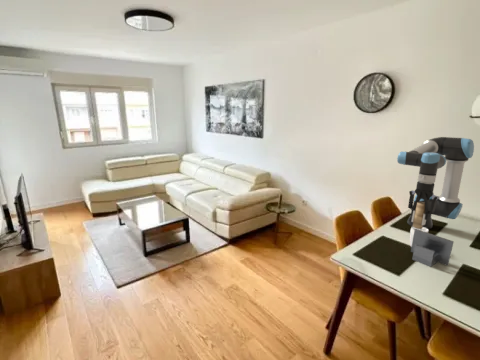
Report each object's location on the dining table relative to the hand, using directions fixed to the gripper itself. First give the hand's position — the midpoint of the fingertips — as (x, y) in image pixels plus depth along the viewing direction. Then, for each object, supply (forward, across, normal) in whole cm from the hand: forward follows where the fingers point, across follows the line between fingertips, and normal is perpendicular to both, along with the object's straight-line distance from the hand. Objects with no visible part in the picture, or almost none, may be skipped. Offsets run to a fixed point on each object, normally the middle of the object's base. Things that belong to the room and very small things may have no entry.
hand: (418, 222), depth 144 cm
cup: (+21, -4, +15) cm, 26 cm away
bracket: (+21, +6, +2) cm, 22 cm away
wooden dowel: (+2, 0, 0) cm, 2 cm away
